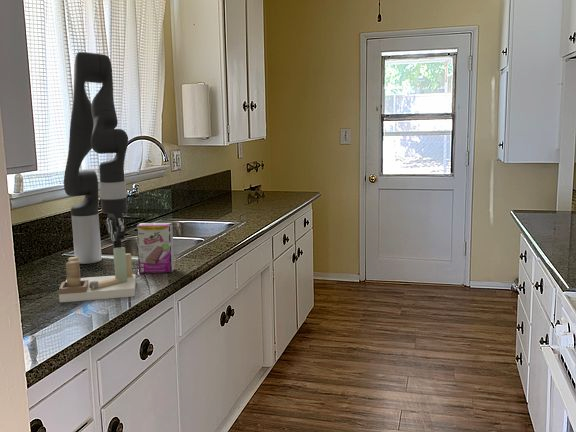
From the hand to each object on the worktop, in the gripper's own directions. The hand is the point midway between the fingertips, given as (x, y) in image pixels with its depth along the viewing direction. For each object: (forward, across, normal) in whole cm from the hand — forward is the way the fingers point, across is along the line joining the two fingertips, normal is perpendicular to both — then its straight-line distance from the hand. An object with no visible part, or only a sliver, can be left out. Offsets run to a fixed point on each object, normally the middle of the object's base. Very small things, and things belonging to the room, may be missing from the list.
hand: (117, 252), depth 177 cm
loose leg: (+8, -3, +14) cm, 17 cm away
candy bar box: (+11, +9, -16) cm, 21 cm away
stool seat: (+11, -2, +7) cm, 13 cm away
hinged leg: (+8, -5, +5) cm, 10 cm away
